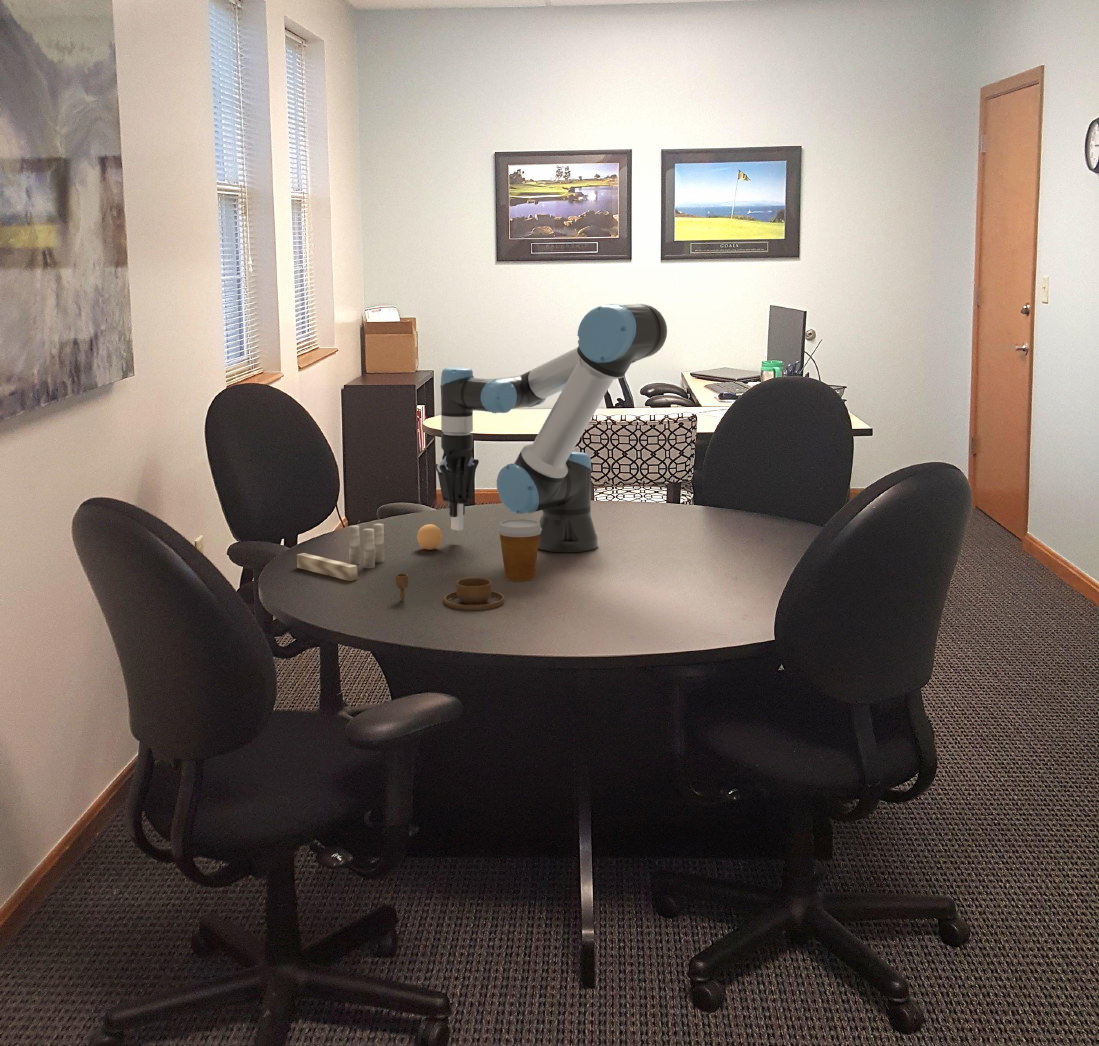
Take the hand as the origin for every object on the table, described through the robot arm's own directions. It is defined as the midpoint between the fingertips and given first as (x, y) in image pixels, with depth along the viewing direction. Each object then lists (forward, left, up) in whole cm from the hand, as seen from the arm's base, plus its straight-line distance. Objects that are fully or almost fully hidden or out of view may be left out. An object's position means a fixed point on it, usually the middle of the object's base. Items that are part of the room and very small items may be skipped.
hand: (457, 529), depth 288 cm
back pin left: (-3, +30, -3) cm, 31 cm away
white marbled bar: (0, +40, -3) cm, 41 cm away
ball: (0, +9, 0) cm, 10 cm away
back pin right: (+2, +30, -3) cm, 31 cm away
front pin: (0, +25, -3) cm, 26 cm away
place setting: (-36, +37, -4) cm, 52 cm away
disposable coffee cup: (-34, +15, -4) cm, 38 cm away
